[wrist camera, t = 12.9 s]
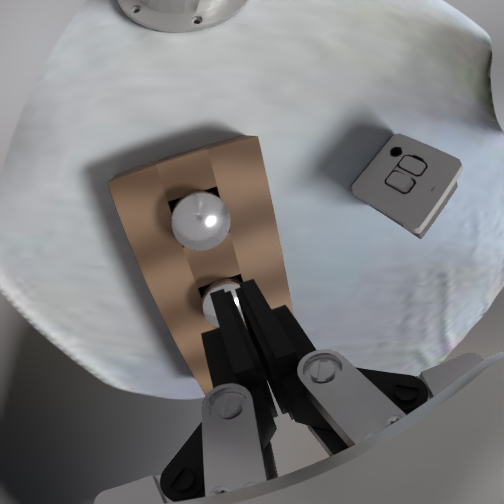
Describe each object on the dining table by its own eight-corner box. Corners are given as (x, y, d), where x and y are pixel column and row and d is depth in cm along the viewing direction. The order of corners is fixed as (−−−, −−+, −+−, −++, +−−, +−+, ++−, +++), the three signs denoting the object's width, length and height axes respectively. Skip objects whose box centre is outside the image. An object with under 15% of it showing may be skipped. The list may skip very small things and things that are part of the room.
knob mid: (191, 271, 28) (196, 295, 24) (235, 256, 28) (246, 278, 24) (205, 306, 30) (212, 333, 26) (245, 293, 30) (257, 318, 26)
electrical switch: (394, 131, 28) (460, 148, 20) (410, 162, 31) (470, 184, 23) (346, 188, 29) (409, 220, 22) (367, 216, 32) (425, 252, 24)
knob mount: (115, 175, 23) (107, 182, 19) (246, 135, 24) (257, 136, 21) (202, 378, 34) (207, 398, 31) (291, 347, 36) (301, 365, 33)
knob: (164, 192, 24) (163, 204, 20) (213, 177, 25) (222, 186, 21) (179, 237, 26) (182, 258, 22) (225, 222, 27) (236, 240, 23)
